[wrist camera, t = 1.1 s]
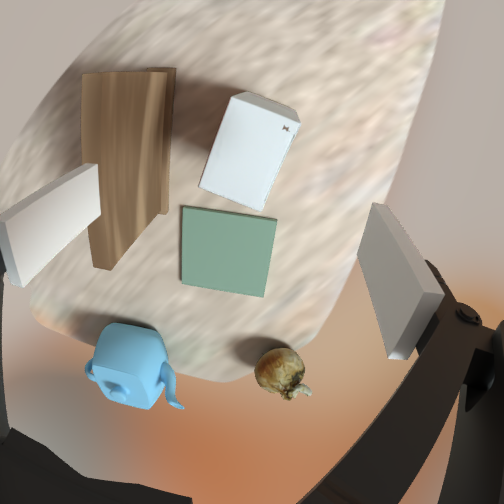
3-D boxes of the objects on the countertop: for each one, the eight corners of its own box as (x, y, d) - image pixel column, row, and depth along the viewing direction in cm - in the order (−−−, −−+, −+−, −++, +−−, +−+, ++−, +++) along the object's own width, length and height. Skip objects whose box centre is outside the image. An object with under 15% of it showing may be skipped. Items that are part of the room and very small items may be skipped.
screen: (145, 208, 37) (88, 270, 25) (150, 68, 29) (76, 68, 17) (168, 211, 37) (117, 276, 25) (176, 68, 29) (111, 64, 17)
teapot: (200, 377, 53) (186, 431, 43) (111, 359, 54) (87, 405, 44) (197, 329, 47) (178, 389, 37) (95, 311, 48) (63, 359, 38)
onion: (293, 331, 45) (292, 374, 38) (313, 363, 48) (314, 403, 42) (247, 346, 48) (241, 387, 41) (270, 375, 51) (267, 414, 44)
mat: (182, 281, 42) (181, 283, 42) (184, 205, 37) (182, 207, 36) (263, 294, 42) (263, 297, 42) (277, 219, 37) (277, 221, 36)
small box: (247, 90, 30) (230, 92, 21) (297, 110, 30) (303, 121, 21) (220, 157, 34) (195, 188, 25) (267, 176, 34) (261, 214, 25)
